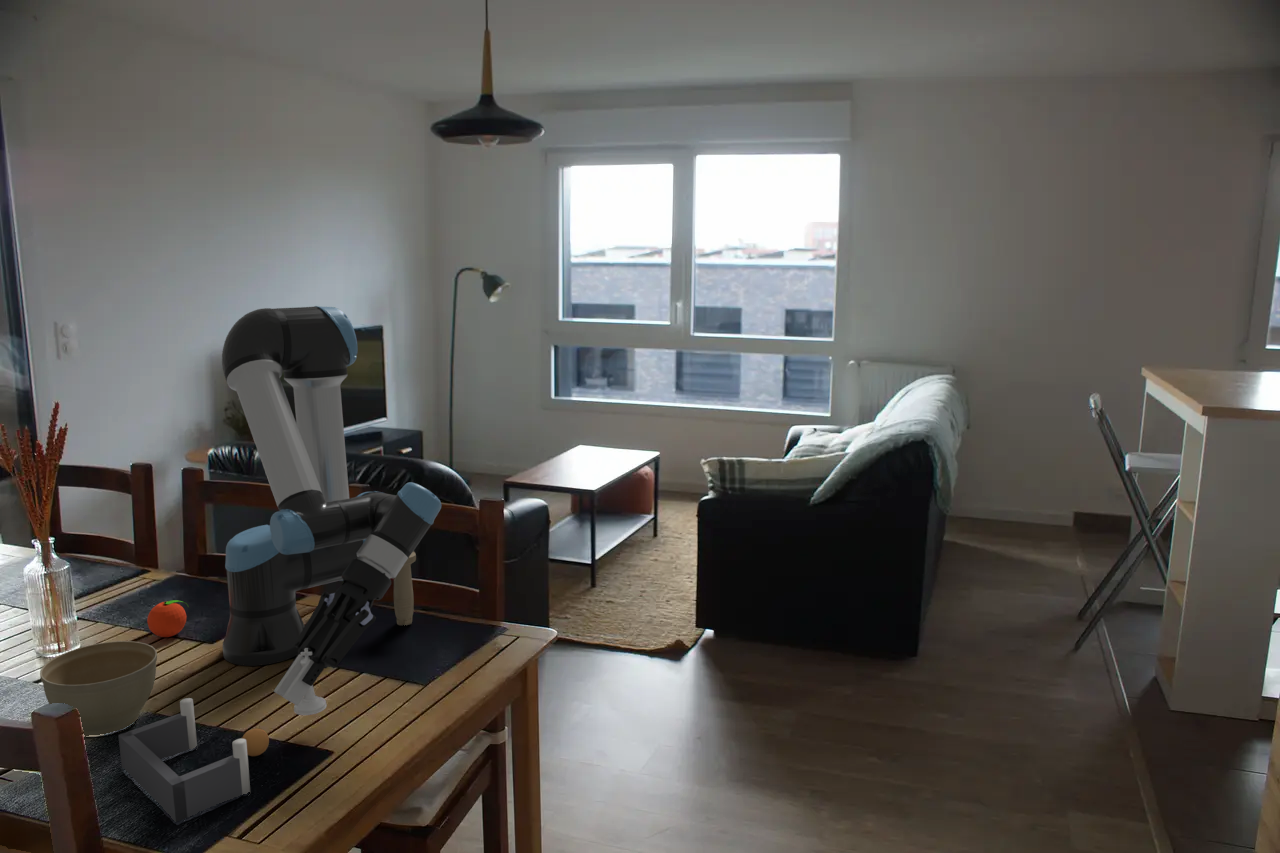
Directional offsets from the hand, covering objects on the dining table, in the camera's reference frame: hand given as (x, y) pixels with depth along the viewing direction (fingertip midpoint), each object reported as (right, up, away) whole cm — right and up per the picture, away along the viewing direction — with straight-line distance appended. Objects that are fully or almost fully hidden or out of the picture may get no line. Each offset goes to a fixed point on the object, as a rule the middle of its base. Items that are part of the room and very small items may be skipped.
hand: (285, 698), depth 143 cm
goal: (-10, -9, -9) cm, 17 cm away
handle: (+6, +1, +47) cm, 48 cm away
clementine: (-38, 0, +41) cm, 56 cm away
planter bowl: (-31, -6, +6) cm, 33 cm away
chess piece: (+3, -3, +3) cm, 5 cm away
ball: (-4, -6, -2) cm, 7 cm away
